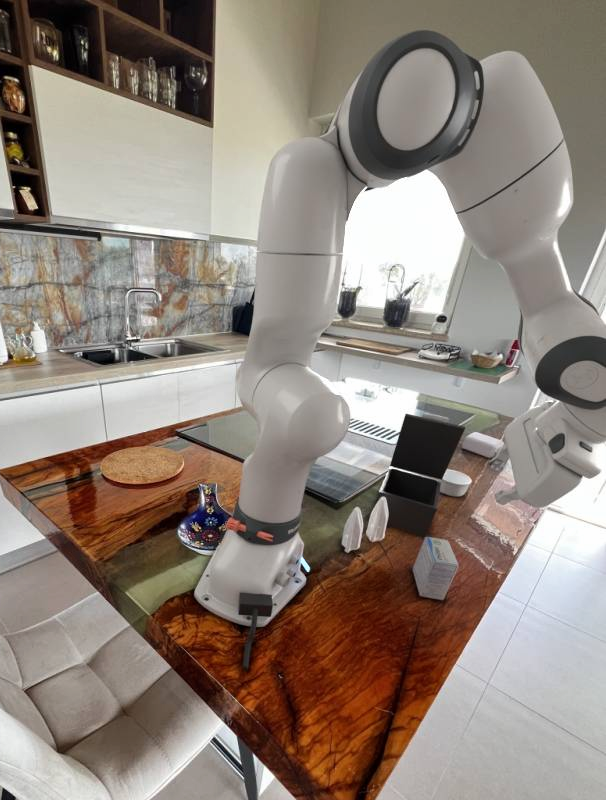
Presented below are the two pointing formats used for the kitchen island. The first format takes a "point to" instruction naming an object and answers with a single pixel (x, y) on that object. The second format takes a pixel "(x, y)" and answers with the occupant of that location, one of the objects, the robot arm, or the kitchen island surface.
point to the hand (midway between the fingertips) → (495, 483)
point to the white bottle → (482, 444)
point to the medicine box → (435, 568)
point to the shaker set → (375, 526)
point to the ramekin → (454, 483)
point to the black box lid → (426, 444)
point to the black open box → (410, 500)
